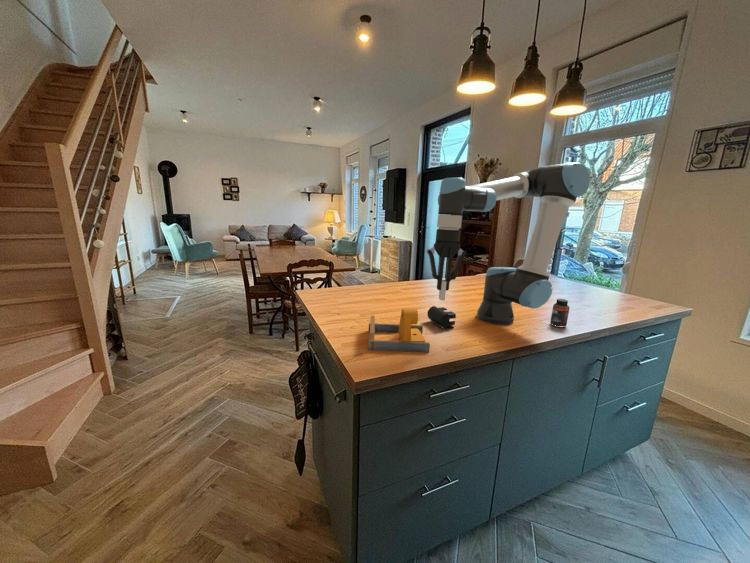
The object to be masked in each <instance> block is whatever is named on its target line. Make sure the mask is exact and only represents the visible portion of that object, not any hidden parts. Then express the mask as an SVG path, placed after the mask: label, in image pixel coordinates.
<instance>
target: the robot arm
mask: <svg viewBox="0 0 750 563" xmlns="http://www.w3.org/2000/svg"><path fill="white" fill-rule="evenodd" d="M466 182H467V181H466V179H465V178H463V177H445V178H443V179H442V180H441V183H440V188H439V189H440V190H439V193H438V194H439V195H438V197H437V205H438V210H437V212H438V213H437V221H436V227H437V229H436V234H435V242H434V244H433V247H431V248H427V249H426V253H427V255H428V258H429V263H430V265H429V266H430V269H431V270H430V271H431V276H432V278H433V279H435V280H437V281H436V289H437V291H439V292H438V299H439V300H440V301H445V300H446V291H449V290H450V283H451V281H453V280H456V279H457V275H458V273H459V270H460V267H461V265H462V263H463V262H462V261H463V259H464V258H465V257H466V256H467V251H464V250H463V249H462V248H461V244H460V239H461V230H460V229H461V228H462V221H463V220H462V219H463V212H464V211H465V212H481V213H483V212H490V211H492V209H493V208H495V206H496V204H497V201H502V200H505V199H509V198H516V199H521V198H529V197H530V198H539V200H540V202H541V207H540V211H539V214H538V217H537V220H536V222H535V226H534V228H533V232H532V233H531V234H532V235H531V237H530V238H531V239H530V241H529V244H528V246H527V250H526V252H525V256H524V259H523V262H522V264H521V265H520V266H517V268H516V267H512V266H511V267H509V266H508V267H507V266H493V267H492V266H491V267H489V268H487V270H486V274H485V279H484V288H483V297H482V301H481V303H480V306H479V307H478V309H477V312H476V318H477V319H478V320H480V321H482V322H484V323H487V324H492V325H500V326H508V325H512V324H513V323H514V321H515V315H514V310H513V304H512V303H514V304H517V305H519V306H521V307H525V308H530V309H539V308H541V307H542V306H544V305H546V303H547V302H548V301H549V300H550V298H551V296H552V294H553V284H552V282H551V281H549V279H550V277H551V276H550V274H549V273H548V268H549V265H550V263H551V259H552V257H553V254H554V251H555V247H556V244H557V241H558V239H559V236H560V233H561V230H562V227H563V224H564V222H565V219H566V215H567V212H568V209H569V208H570V207H572V206H574V205H575V204H576V201H577V198H580V197H582V196H584V195H585V194H586V193H587V191H588V190H589V188H590V184H591V177H590V173H589V169H588V168H587V166H586V165H585V164H584V163H582V162H575V161H574V162H570V161H569V162H566V163H558V164H551V165H550V164H549V165H542V166H539V167H536V168H532V169H529V170H525V171H521V172H517V173H515V174H513V175H512V176H511V177H510V176H509V177H506V178H501V179H496V180H491V181H486V182H482V183H476V184H472V185H467V183H466ZM435 252H436V254H437V255H438V266H436V259H435V256H434V255H435ZM456 254H457V257H456V259H455V262H454V265H453V260H454V257H455V255H456ZM445 260H446V264H445ZM444 266H445V274H444ZM452 266H453V268H452ZM436 267H438V268H436ZM444 275H445V276H444ZM443 278H444V279H443Z"/></svg>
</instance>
